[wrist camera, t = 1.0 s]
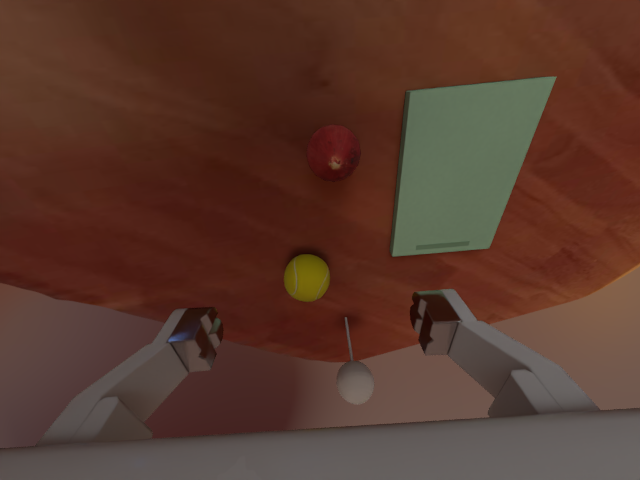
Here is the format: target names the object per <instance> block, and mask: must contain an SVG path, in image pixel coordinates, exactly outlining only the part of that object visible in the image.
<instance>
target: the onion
mask: <svg viewBox="0 0 640 480" xmlns="http://www.w3.org/2000/svg"><path fill="white" fill-rule="evenodd" d="M360 155H361V152H360V147H359V142H358V139H357V138H356V137H355V135H354V134H353V133H352V131H350V130H349V129H347V128H345V127H344V126H342V125H332V124H331V125H328V126H324V127H321V128H320V129H319V130H317V131H316V132H315V133H314V134H313V135H312V137H311V139H310V141H309V143H308V145H307V155H306V156H307V159H308V163H309V166H310V168H311V170H312V171H313V172H314V173H315V175H316V176H318V177H320V178H322V179H323V180H325V181H332V182H335V181H340V180H343V179H345V178H347V177H348V176H350V175H351V174H352V173H353V171H354V170H355V169H356V167H357V166H358V163H359V159H360Z"/></svg>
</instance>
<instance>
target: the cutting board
mask: <svg viewBox="0 0 640 480" xmlns="http://www.w3.org/2000/svg"><path fill="white" fill-rule="evenodd" d="M555 79H556V77H539V78H529V79H519V80H510V81H500V82H490V83H480V84H470V85H460V86H450V87H441V88H431V89H421V90H411V91H406V94H405V104H404V114H403V124H402V134H401V144H400V154H399V164H398V174H397V184H396V194H395V204H394V214H393V224H392V234H391V244H390V253H391V255H392V257H394V256H406V255H417V254H429V253H441V252H452V251H464V250H475V249H487V248H489V247H490V245H491V242H492V240H493V237H494V235H495V232H496V229H497V227H498V224H499V222H500V219H501V217H502V214H503V212H504V209H505V207H506V204H507V201H508V199H509V196H510V194H511V191H512V189H513V186H514V184H515V181H516V178H517V176H518V173H519V171H520V168H521V166H522V163H523V161H524V158H525V156H526V153H527V150H528V148H529V145H530V143H531V140H532V138H533V135H534V133H535V130H536V127H537V125H538V122H539V120H540V117H541V115H542V112H543V110H544V107H545V105H546V102H547V99H548V97H549V94H550V92H551V89H552V87H553V84H554V82H555Z"/></svg>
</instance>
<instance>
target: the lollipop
mask: <svg viewBox="0 0 640 480" xmlns="http://www.w3.org/2000/svg"><path fill="white" fill-rule="evenodd" d="M345 324H346V331H347V338H348V346H349V353H350V360H351V361H349V362H347V363H345V364H344V365H342V367H341V368H340V369H339V372H338V374H337V382H336V384H337V388H338V391H339V393H340V395H341V396H342V397H343V398H344V399H345V400H346V401H348V402H349V403H352V404H361V403H364V402H366V401H367V400H368V399H369V398H370V396H371V395H372V393H373V389H374V378H373V375H372V373H371V371H370V370H369V368H368V367H367V366H366V365H365V364H363V363H361V362H359V361H353V355H352V348H351V342H350V335H349V328H348V322H347V317H345Z"/></svg>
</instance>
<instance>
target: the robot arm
mask: <svg viewBox="0 0 640 480" xmlns="http://www.w3.org/2000/svg"><path fill="white" fill-rule="evenodd" d="M412 300H413V302H414V304H413V305H412V306H411V307H410V320H411V323H412V326H413V329H414V330H415V331H416V332H417V333H419V334H420V335H419V342H420V344H421V347H422V349H423V351H424V353H425V355H448V356H449V357H450V358H451V359H452V360H453V361H454V362H455V363H457V364H458V365H459V366H460V367H461V368H462V369H463V370H465V371H466V372H467V373H468V374H469V375H470V376H471V377H472V378H473V379H474V380H475V381H477V382H478V383H479V384H480V385H481V386H482V387H483V388H484V389H485V390H487V391H488V392H489V393H490V394H491V395H492V396H493V397H494V398H495V400H494V401H493V403H492V405H491V407H490V408H489V410H488V415H489V416H490V417H489V418H474V419H457V420H441V421H425V422H410V423H395V424H394V423H393V424H377V425H361V426H346V427H330V428H313V429H298V430H283V431H265V432H250V433H235V434H219V435H203V436H187V437H172V438H157V439H151V438H152V435H153V433H152V430H151V429H150V428H149V427H148V426H147V425H146V424H145V423H144V422H145V421H146V419H147V418H148V417H149V416H150V415H151V414H152V413H153V412H154V411H155V410H156V409H157V407H158V406H159V405H160V404H161V403H162V402H163V401H164V400H165V399H166V398H167V397H168V396H169V394H170V393H171V392H172V391H173V390H174V389H175V388H176V387H177V386H178V385H179V384H180V382H181V381H182V380H183V379H184V378H185V377H186V376H187V375H188V374H189V373H188V372H195V371H206V370H211V367H212V365H213V362H214V359H215V357H216V351H215V348H216V347H218V345H220V343H221V341H222V338H223V331H224V330H223V324H222V322H221V320H219V319H218V318H216V316H217V314H218V312H217V310H216V308H215V307H201V308H185V309H176V310H175V311H173V312H172V314H171V315H170V317H169V318H168V320H167V321H166V323H165V324H164V326H163V327H162V329H161V330H160V332H159V334H158V335H157V336H156V338H155V339H154V341H153V342H152V344H147V345H146V346H145V347H143V348H142V349H140V350H139V351H138V352H136V353H135V354H133V355H132V356H131V357H129V358H128V359H127V360H125V361H124V362H122V363H121V364H120V365H119V366H117V367H116V368H114V369H113V370H111V371H110V372H109V373H107V374H106V375H105V376H103V377H102V378H100V379H99V380H98V381H96V382H95V383H93V384H92V385H91V386H89V387H88V388H87V389H85V390H84V391H82V392H81V393H80V394H78V395H77V396H75V397H74V398H73V399H72V401H71V402H70V403H69V404H68V405H67V407H66V408H65V409H64V410H63V412H62V413H61V414H60V415H59V417H58V418H57V419H56V420H55V422H54V423H53V424H52V425H51V427H50V428H49V429H48V430H47V432H46V433H45V434H44V435H43V436H42V438H41V439H40V440H39V441H38V443H37V444H36V445H35V446H30V447H14V448H0V480H640V408H631V409H614V410H600V409H599V408H598V407H597V406H596V405H595V403H594V402H593V401H592V400H591V399H590V398H589V397H588V396H587V395H586V394H585V393H584V392H583V390H582V389H581V388H580V387H579V386H578V385H577V384H576V383H575V382H574V381H573V380H572V378H571V377H570V376H569V375H568V374H567V373H566V372H565V371H564V370H563V369H562V368H561V367H560V366H559V365H557V364H556V363H554V362H552V361H550V360H549V359H547V358H545V357H544V356H542V355H540V354H538V353H537V352H535V351H533V350H532V349H530V348H528V347H526V346H525V345H523V344H521V343H519V342H518V341H516V340H514V339H513V338H511V337H509V336H507V335H506V334H504V333H502V332H500V331H499V330H497V329H495V328H493V327H492V326H490V325H488V324H487V323H485V322H483V321H478V320H477V319H476V318H475V316H474V315H473V314H472V312H471V311H470V310H469V308H468V307H467V306H466V304H465V303H464V302H463V300H462V299H461V298H460V296H459V295H458V294H457V292H456V291H455V290H453V289H445V290H433V291H421V292H414V293H413V296H412Z"/></svg>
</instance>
